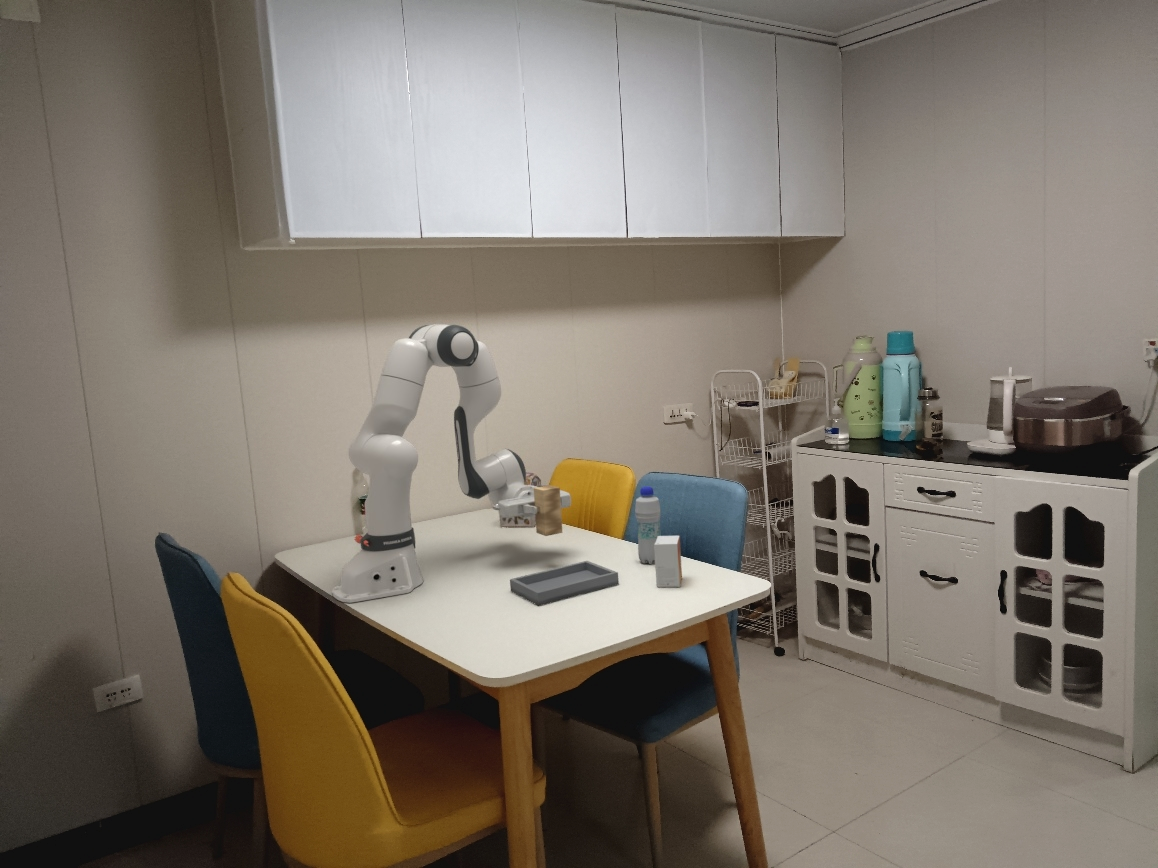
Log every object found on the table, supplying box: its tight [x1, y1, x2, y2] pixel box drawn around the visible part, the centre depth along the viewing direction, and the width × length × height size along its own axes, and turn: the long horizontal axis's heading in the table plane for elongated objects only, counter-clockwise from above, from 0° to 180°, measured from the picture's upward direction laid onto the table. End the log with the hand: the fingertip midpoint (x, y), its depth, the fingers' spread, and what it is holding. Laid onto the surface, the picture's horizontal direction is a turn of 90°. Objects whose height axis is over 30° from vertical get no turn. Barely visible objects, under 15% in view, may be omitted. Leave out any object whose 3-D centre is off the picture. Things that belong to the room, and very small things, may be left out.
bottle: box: [634, 486, 662, 565], centre depth 211 cm, size 7×7×20 cm
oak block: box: [534, 484, 563, 537], centre depth 212 cm, size 5×5×12 cm
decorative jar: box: [498, 468, 542, 528], centre depth 264 cm, size 12×12×18 cm
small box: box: [654, 535, 683, 588], centre depth 194 cm, size 8×6×10 cm
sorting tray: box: [509, 560, 619, 607], centre depth 195 cm, size 22×14×3 cm, turn 122°
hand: (548, 508), depth 212 cm, fingers closed on oak block, 5 cm apart
